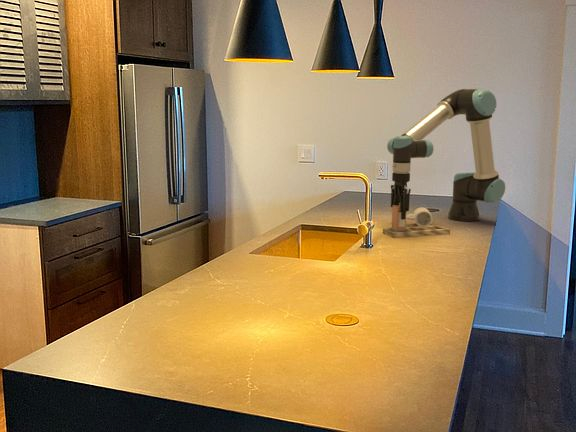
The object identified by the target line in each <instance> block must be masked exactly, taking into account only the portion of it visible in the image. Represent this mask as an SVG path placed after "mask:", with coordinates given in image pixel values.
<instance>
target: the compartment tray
mask: <svg viewBox="0 0 576 432" xmlns="http://www.w3.org/2000/svg"><path fill="white" fill-rule="evenodd" d="M382 234H385V235H387V236H388V237H391V238H394V239H395V238H409V237H410V238H412V237H425V236H440V235H451V229H449V228H447V227H445V226H442V225H439V224H436V225H430V226H418V225H417V226H406V231H393V230H392V227H390V228H388V227H387V228H382Z"/></svg>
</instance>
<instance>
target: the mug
mask: <svg viewBox="0 0 576 432" xmlns="http://www.w3.org/2000/svg"><path fill="white" fill-rule="evenodd" d="M406 220H411V221H414V223H415V224H416V225H417V226H432V225H431V224H433V223H432V222H433V216H432V214H431V212H430V210H428V208H425V207H424V206H423V207H422V206H421V207H418V208H416V209H415V210H414V211H413V213H411V214H410V213H409V214H406Z"/></svg>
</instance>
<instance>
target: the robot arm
mask: <svg viewBox="0 0 576 432" xmlns="http://www.w3.org/2000/svg"><path fill="white" fill-rule="evenodd" d="M436 105H437V106H436V107H435V108H433V109H432V110H431V111H430V112H428V114H426V115H425V116H423V117H422V118H421V119H420V120H419V121H418V122H416V123H415V124H414V125H412V126H411V127H410V128H409V129H408V130H407V131H404V133H402V134H401V135H398V136H397V135H396V136H395V137H392V138H390V139H389V140H388V141H387V143H386V145H387V146H386V148H387V151H388V152H389V153H390V154H391V155H392V165H391V166H392V171H393V172H392V173H391V174H392V175H391V176H392V177H391V180H392V182H394V184H390V189H391V192H390V207H391V208H392V207H393V205H400V211H399V227H405V215H407V212H409V210H410V195H411V190H412V189H411V188H408V183H409V182H410V181H411V173H410V172H411V163H412V162H411V161H412V160H411V159H418V158H420V159H421V158H423V159H425V158H430V157H431V156H432V155H433V154H434V144H433V142H432V141H430V140H428V139H427V140H426V139H425V138H426V137H427V136H429V135H430V134H431V133H432V132H433V131H434V130H436V129H437V128H438V127H440V125H442V124H443V123H444V122H446V121H447V120H452V119H453V118H454V117H456V116H459V115H465V120H466V122H467V123H469V127H470V135H471V142H472V150H473V158H474V159H473V160H474V161H473V162H474V167H475V169H474V170H475V172H458V173H456V174H454V177H453V185H452V186H453V187H452V202H451V206H450V208H449V211H448V214H447V218H448V219H449V220H453V221H459V222H460V221H461V222H477V221H479V220H480V212H479V208H478V202H479V201H480V202H483V203H484V202H485V203H488V204H489V203H491V204H495V203H498V202H499V201H501V199H502V198H503V196H504V194H505V193H506V183H505V181H504V180H503V179H502V178H500V175H499V171H497V170H495V169H496V168H495V163H494V161H495V160H494V154H493V153H494V152H493V143H492V135H491V133H492V132H491V125H490V120H491V119H492V118H493V114H494V113H495V111H496V108H497V98H496V96H495V94H494V93H493V92H492V91H491V90H490V89H484V88H483V89H482V88H469V89H468V88H463V89H458V90H455V91H454V92H451V93H449V94H448V95H446V96H445V97H443V99H441V100H440V101H439V102H438V103H437V104H436ZM477 201H478V202H477Z"/></svg>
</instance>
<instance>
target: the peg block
mask: <svg viewBox="0 0 576 432" xmlns="http://www.w3.org/2000/svg"><path fill="white" fill-rule="evenodd" d="M391 209H392V213H391V228H392V230H393V231H406V227H407V219H406V215H407V214H406V215H405V227H399V211H400V204H399V205H393V207H391Z"/></svg>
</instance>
